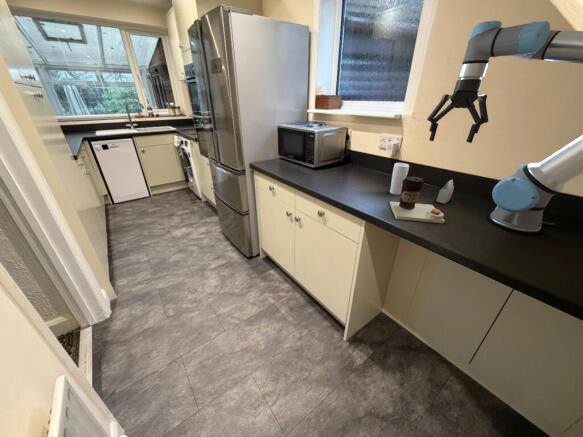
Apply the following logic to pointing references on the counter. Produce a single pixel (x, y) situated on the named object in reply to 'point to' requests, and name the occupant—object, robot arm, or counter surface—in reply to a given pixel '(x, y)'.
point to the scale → (416, 213)
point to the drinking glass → (398, 177)
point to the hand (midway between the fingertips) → (449, 141)
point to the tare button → (435, 211)
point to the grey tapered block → (446, 192)
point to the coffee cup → (410, 192)
